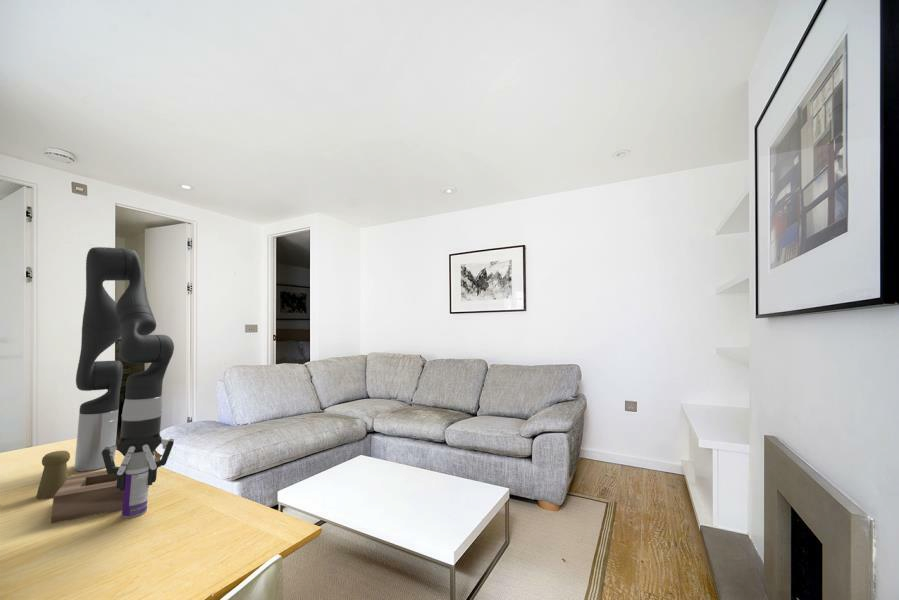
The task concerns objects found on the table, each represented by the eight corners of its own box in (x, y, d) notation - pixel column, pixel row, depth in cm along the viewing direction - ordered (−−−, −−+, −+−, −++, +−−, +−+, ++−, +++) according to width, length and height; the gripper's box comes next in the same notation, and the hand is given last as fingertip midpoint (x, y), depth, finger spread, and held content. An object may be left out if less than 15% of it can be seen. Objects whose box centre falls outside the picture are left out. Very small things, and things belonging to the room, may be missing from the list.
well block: (67, 499, 96) (69, 475, 96) (137, 486, 103) (139, 465, 104) (50, 523, 84) (53, 496, 84) (131, 507, 92) (133, 482, 92)
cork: (32, 496, 97) (36, 453, 98) (64, 487, 102) (67, 446, 103) (40, 501, 94) (44, 457, 95) (72, 492, 99) (76, 450, 100)
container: (120, 513, 89) (125, 450, 90) (145, 506, 93) (149, 445, 94) (122, 520, 86) (128, 454, 87) (148, 513, 89) (153, 450, 91)
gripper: (178, 409, 98) (173, 475, 97) (106, 415, 90) (99, 487, 89) (177, 415, 92) (172, 485, 91) (99, 422, 84) (92, 500, 83)
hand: (136, 486), depth 90 cm, fingers closed on container, 4 cm apart
